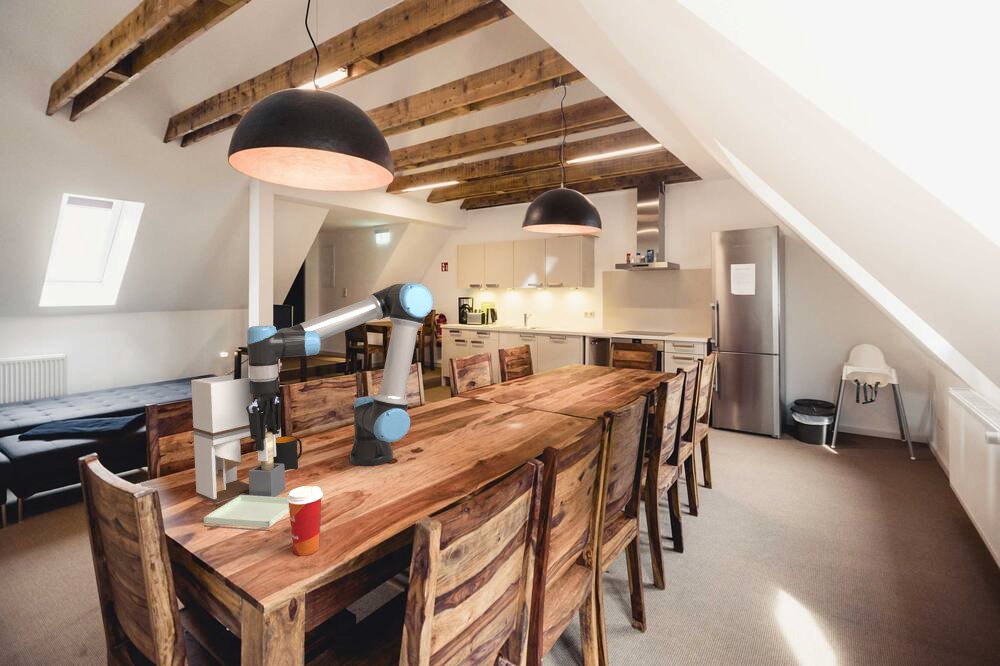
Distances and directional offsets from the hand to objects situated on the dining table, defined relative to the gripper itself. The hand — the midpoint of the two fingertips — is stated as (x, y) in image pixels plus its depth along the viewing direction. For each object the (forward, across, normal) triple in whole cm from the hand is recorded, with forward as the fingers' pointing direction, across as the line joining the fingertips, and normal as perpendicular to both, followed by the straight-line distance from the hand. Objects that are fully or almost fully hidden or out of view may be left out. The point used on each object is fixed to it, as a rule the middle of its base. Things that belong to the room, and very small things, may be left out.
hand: (267, 458), depth 139 cm
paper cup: (+12, +26, +27) cm, 39 cm away
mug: (+12, -24, -8) cm, 28 cm away
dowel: (+10, 0, 0) cm, 10 cm away
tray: (+12, +12, +4) cm, 17 cm away
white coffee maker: (+12, +1, -13) cm, 17 cm away
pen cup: (+12, 0, 0) cm, 12 cm away
